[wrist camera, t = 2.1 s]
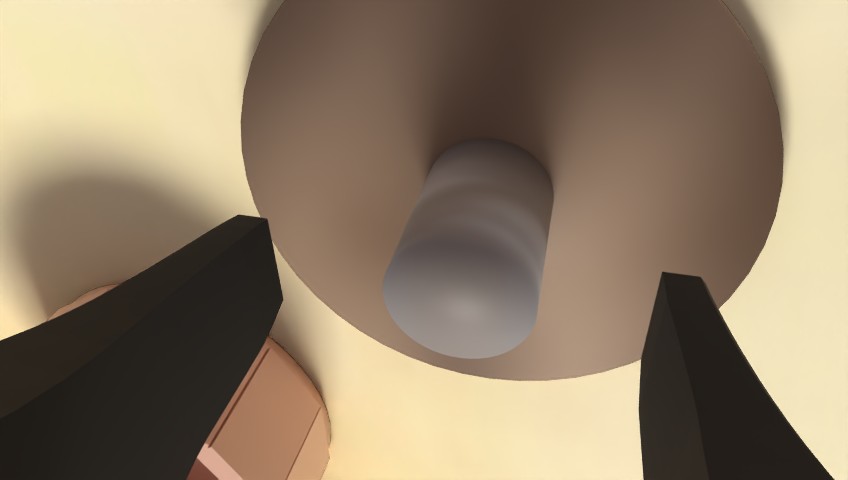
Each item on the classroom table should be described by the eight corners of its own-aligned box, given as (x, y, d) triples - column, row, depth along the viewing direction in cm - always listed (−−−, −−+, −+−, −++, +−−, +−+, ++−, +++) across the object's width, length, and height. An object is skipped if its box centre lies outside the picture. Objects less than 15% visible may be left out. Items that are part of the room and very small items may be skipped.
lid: (853, -113, 11) (960, -42, 8) (716, 384, 18) (739, 541, 14) (202, -96, 13) (58, -38, 10) (299, 333, 20) (233, 455, 17)
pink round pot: (311, 311, 19) (249, 422, 16) (343, 509, 25) (302, 618, 22) (16, 262, 22) (-89, 352, 18) (110, 455, 28) (42, 548, 24)
